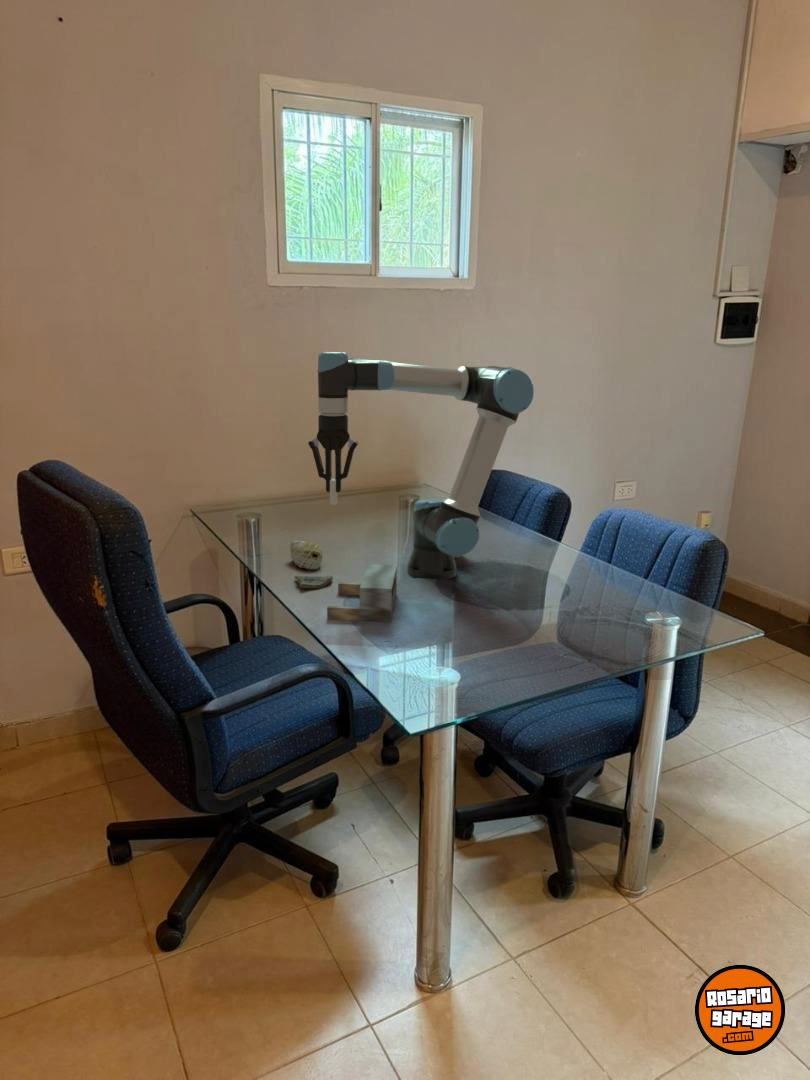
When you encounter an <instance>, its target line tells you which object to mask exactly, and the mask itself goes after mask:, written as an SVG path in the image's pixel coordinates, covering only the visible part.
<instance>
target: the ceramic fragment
mask: <svg viewBox="0 0 810 1080" xmlns="http://www.w3.org/2000/svg"><path fill="white" fill-rule="evenodd" d="M333 579H334V577H333V575H321V576H320V575H318V576H317V575H313V576H312V575H311V576H308V575H294V580H296V582H297V583H298V585H299V587H300V588H304V589H322V588H323V587H325V586H327V585H328V584H330V582H332V581H333Z"/></svg>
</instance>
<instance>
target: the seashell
mask: <svg viewBox="0 0 810 1080" xmlns="http://www.w3.org/2000/svg"><path fill="white" fill-rule="evenodd" d="M290 557H291V559H292V561H293V563H294V564H295V565H296V566H297V567H299V568H301V569H307V570H318V569H320V568H321V564H322V560H323V550H322V547H321V546H320V545H318V544H317V543H315V542H312V541H302V540H292V541H291V543H290Z"/></svg>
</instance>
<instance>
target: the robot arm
mask: <svg viewBox="0 0 810 1080" xmlns="http://www.w3.org/2000/svg"><path fill="white" fill-rule="evenodd" d="M317 358H318V360H317V383H318V384H317V385H318V386H317V387H318V389H317V390H318V394H317V395H318V398H317V405H318V406H317V409H318V410H317V411H318V413H319V415H318V417H317V418H318V430H317V433H316V437H314V439H311V440H309V441H308V442H307V443H308V446H309V448H310V449H311V451H312V455H313V459H314V462H315V467H316V471H317V474H318V477H319V478H321V479H324V480H325V491H326V492H327V493H329V505H330V506H337V504H338V493H340V492H342V491H341V490H342V480H344V479H347V477H348V476H349V472H350V469H351V464H352V461H353V456H354V452H355V449H356V448H357V447H358V445H359V442H358V441H356V440H354V439H352V438H351V436H350V433H349V428H348V427H349V425H348V424H349V418H348V415H347V413H348V412H349V409H348V408H349V403H348V402H349V401H348V400H349V399H348V398H349V395H348V394H349V391H378V392H381V391H388V390H390V391H397V392H398V391H399V392H406V393H407V392H409V393H416V394H417V393H419V394H428V395H438V396H439V395H440V396H448V397H449V396H450V397H454V398H455V399H456V400H457V401H465V402H468V403H472V404H477V406H476V412H477V414H478V418H477V421H476V424H475V427H474V429H473V432H472V435H471V437H470V440H469V442H468V446H467V448H466V451H465V453H464V457H463V458H462V461H461V464H460V466H459V469H458V472H457V475H456V478H455V480H454V482H453V486H452V488H451V491H450V493H449V495H448V497H446V498H425V499H419V500H416V502H415V503H414V507H413V533H412V534H413V543H412V544H413V545H412V551H411V554H410V556H409V560H408V562H407V564H406V572H407V573H408V575H409V576H411V577H412V578H414V579H419V580H420V579H423V580H425V579H426V580H445V581H447V580H450V579H452V578H454V577H456V576H457V570H458V569H457V564H456V560H455V558H454V557H453V556H459V557H462V556H464V555H466V554H469V553H470V552H471V551H473V550H474V549H475V547H476V546H477V545H478V542H479V540H480V539H479V538H480V530H479V528H478V522H479V519H480V517H481V513H480V511H479V505H480V503H481V502H480V501H481V499H482V497H483V494H484V491H485V488H486V486H487V483H488V480H489V478H490V476H491V472H492V471H493V468H494V466H495V462H496V460H497V457H498V454H499V453H500V450H501V447H502V444H503V442H504V439H505V436H506V434H507V431H508V428H510V426H513V425H514V424H516V423H517V420H518V418H519V415H520V413H523V412H524V411H525V410H528V408H529V407H530V406H531V404H532V402H533V400H534V399H533V398H534V391H535V390H534V384H533V383H532V380H531V378H530V377H529V375H528V374H527V373H526V372H524V371H522V370H520V369H518V368H514V367H511V366H509V367H508V366H507V367H504V366H503V367H502V366H496V365H495V366H494V365H491V366H490V365H489V366H463V365H462V366H460V367H459V366H458V368H448V367H439V366H437V367H436V366H432V365H431V366H430V365H421V364H410V363H402V362H393V361H390V360H381V359H379V360H377V359H375V360H372V359H363V358H359V357H350V358H349V355H348V354H347V353H346V352H345V351H343V352H340V351H322V352H320V353H319V355H318V357H317ZM347 443H348V444H347ZM319 444H320V445H321V446H322V448H323V449H324V454H325V455H324V457H325V460H324V461H325V466H324V465H323V461H322V457H321V453H320V450H319ZM346 444H347V447H348V450H347V453H346V454H347V455H346V459H345V462H344V467H343V471H342V450H343V449H344V447H345V446H346ZM333 451H334V458H335V461H334V462H335V463H334V464H335V469H334V470H335V474H334V475H335V476H334V477H335V478H333V475H332V471H333V469H332V462H333V461H332V452H333ZM324 467H325V469H324Z"/></svg>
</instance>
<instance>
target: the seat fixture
mask: <svg viewBox="0 0 810 1080" xmlns="http://www.w3.org/2000/svg"><path fill="white" fill-rule="evenodd" d="M397 584H398V565H397V564H380V563H379V564H377V563H375V564H374V563H368V564H367V568H366V569H365V572H364V575H363V578H362V580H361V582H343V581H341V582H338V583H337V594H338V595H345V596H346V595H347V596H348V595H349V596H350V595H351V596H359V607H358V606H342V605H341V606H339V605H337V606H336V605H335V606H334V605H328V606H327V607H326V612H327V613H326V619H327V620H338V621H339V620H341V621H363V622H365V621H367V622H386V623H388V622H389V623H390V622H392V619H393V618H392V617H393V614H394V613H393V612H394V609H395V604H396V598H397V592H398V591H397V590H398V589H397Z"/></svg>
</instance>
